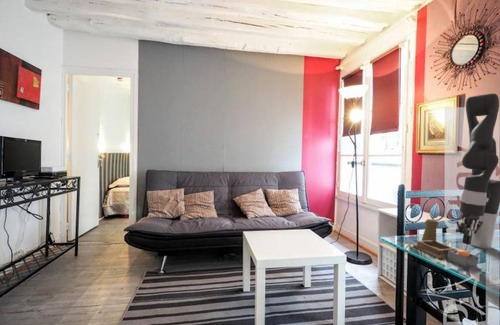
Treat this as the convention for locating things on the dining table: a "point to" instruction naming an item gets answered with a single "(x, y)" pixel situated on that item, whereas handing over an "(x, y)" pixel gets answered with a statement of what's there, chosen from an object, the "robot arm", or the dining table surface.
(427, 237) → the khaki rounded elongated piece
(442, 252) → the crate
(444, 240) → the dining table surface
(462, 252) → the button
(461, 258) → the button housing
